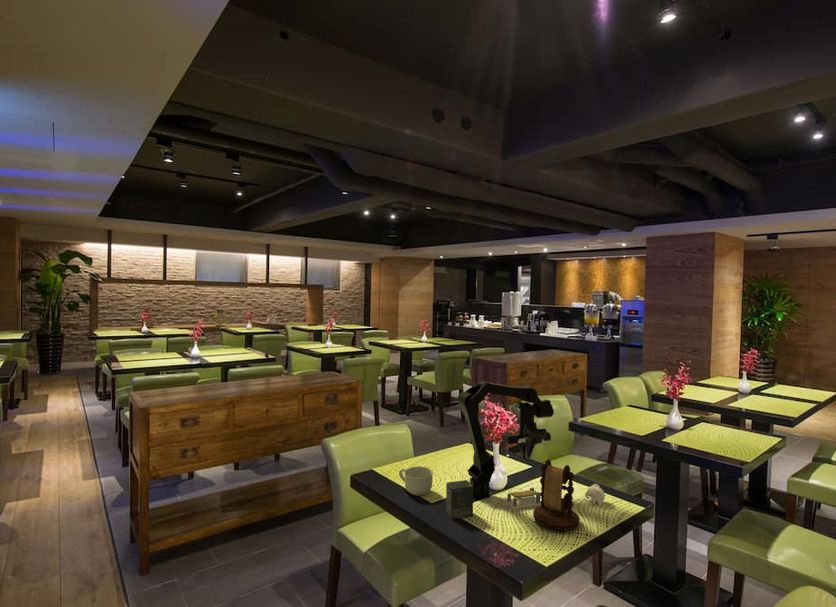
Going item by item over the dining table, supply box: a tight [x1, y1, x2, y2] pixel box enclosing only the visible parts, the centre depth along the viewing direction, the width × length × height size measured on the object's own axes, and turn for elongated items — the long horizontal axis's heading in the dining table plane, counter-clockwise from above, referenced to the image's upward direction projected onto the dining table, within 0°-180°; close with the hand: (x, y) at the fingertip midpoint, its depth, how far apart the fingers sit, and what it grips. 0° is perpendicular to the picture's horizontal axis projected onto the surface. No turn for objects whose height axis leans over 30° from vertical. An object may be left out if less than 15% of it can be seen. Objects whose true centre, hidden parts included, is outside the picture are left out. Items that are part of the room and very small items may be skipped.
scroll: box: [532, 459, 581, 534], centre depth 149 cm, size 15×15×20 cm
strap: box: [510, 489, 537, 498], centre depth 162 cm, size 10×3×1 cm, turn 108°
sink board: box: [504, 487, 541, 511], centre depth 162 cm, size 12×7×4 cm, turn 108°
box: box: [445, 479, 474, 521], centre depth 153 cm, size 8×6×11 cm
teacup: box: [398, 465, 434, 497], centre depth 171 cm, size 14×11×8 cm
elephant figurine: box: [584, 483, 607, 506], centre depth 164 cm, size 7×8×6 cm
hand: (526, 458), depth 174 cm, fingers closed
